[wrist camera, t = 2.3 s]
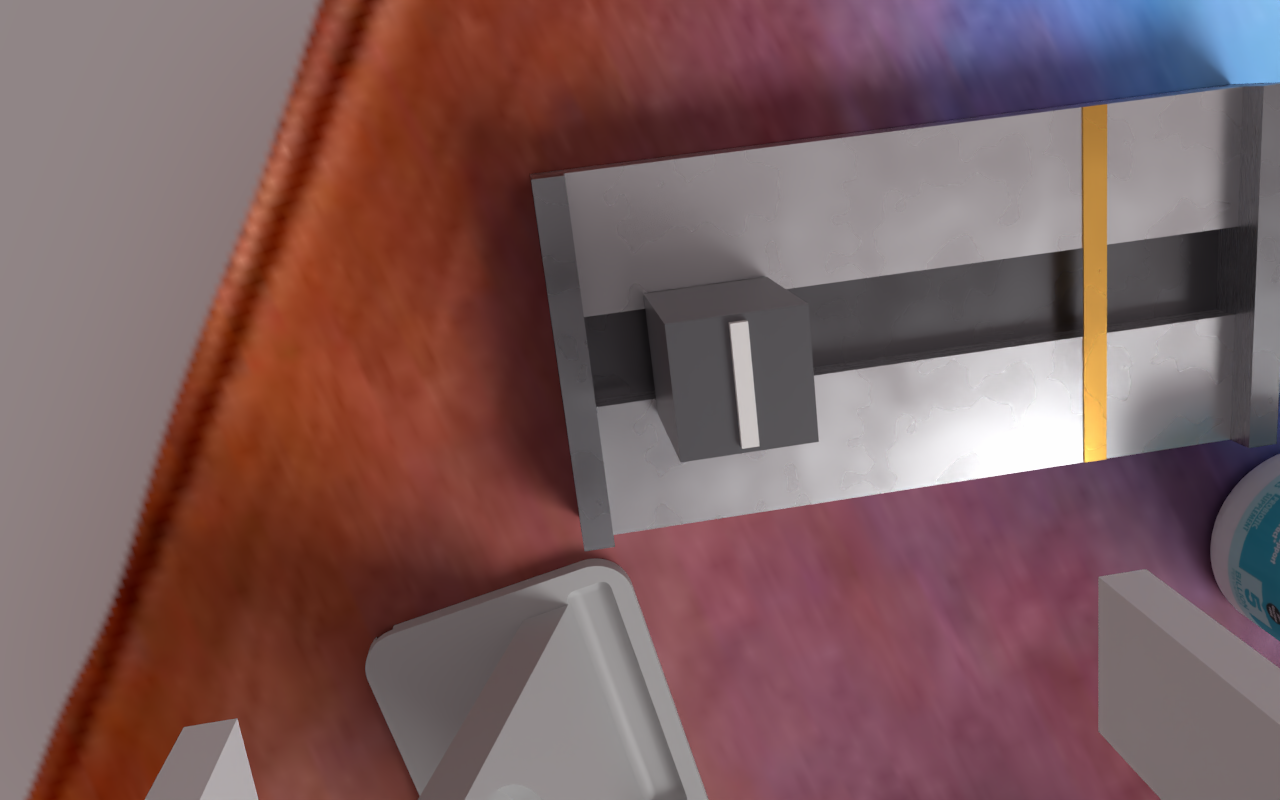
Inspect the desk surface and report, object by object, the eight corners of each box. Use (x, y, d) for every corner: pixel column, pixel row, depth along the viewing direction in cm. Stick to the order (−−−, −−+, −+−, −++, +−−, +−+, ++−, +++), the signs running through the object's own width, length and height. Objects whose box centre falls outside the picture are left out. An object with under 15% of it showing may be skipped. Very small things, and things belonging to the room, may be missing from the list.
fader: (654, 407, 36) (681, 465, 30) (640, 289, 34) (665, 325, 29) (771, 389, 36) (820, 443, 30) (761, 272, 35) (810, 305, 29)
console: (579, 517, 38) (584, 551, 35) (530, 173, 34) (531, 179, 31) (1221, 419, 39) (1276, 443, 37) (1231, 84, 36) (1293, 82, 33)
